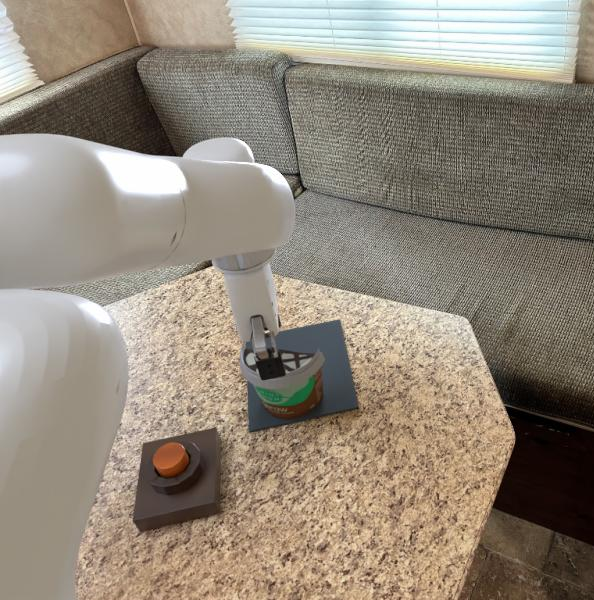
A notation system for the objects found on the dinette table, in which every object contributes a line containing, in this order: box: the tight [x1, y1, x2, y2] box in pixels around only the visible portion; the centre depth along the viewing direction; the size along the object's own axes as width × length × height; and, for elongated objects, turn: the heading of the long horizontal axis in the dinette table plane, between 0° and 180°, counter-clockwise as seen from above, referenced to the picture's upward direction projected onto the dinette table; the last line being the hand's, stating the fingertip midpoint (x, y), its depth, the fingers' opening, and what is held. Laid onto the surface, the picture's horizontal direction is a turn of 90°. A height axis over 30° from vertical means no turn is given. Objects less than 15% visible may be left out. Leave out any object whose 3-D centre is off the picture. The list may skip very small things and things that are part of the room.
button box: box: [132, 427, 222, 533], centre depth 80 cm, size 12×10×4 cm
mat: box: [245, 318, 360, 433], centre depth 95 cm, size 20×16×1 cm
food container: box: [239, 342, 325, 420], centre depth 86 cm, size 12×6×10 cm, turn 80°
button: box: [153, 443, 189, 478], centre depth 78 cm, size 4×4×2 cm
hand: (271, 351), depth 81 cm, fingers open, 9 cm apart
